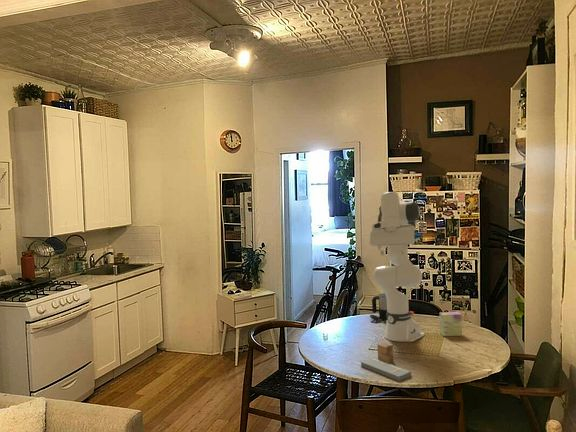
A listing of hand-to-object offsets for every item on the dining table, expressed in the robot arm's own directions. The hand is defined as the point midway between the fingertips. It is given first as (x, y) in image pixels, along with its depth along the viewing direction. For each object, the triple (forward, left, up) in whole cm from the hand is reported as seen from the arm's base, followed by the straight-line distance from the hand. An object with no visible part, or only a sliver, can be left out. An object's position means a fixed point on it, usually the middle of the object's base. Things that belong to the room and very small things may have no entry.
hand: (392, 254), depth 211 cm
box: (-54, -8, -51) cm, 75 cm away
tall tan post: (+2, -4, -50) cm, 51 cm away
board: (+11, +4, -50) cm, 52 cm away
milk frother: (-49, -53, -51) cm, 88 cm away
